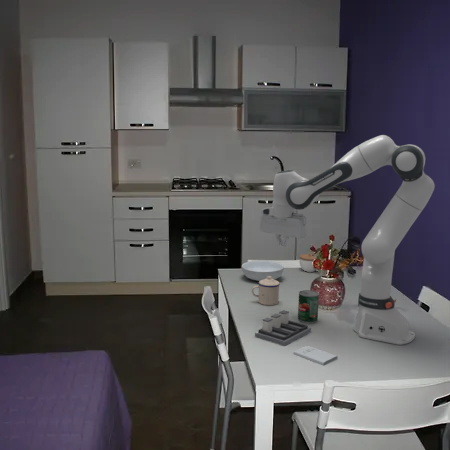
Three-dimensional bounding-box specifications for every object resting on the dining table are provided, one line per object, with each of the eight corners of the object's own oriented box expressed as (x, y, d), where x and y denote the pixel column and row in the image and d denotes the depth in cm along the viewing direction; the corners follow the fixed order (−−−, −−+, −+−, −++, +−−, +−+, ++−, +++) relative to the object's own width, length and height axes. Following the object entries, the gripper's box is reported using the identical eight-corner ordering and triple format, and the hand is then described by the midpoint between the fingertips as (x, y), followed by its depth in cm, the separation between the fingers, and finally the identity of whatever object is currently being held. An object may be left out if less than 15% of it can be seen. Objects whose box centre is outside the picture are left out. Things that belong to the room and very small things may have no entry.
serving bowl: (237, 274, 292) (237, 261, 291) (277, 272, 295) (277, 260, 294) (246, 285, 272) (246, 271, 270) (288, 284, 275) (289, 270, 274)
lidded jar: (301, 273, 295) (302, 255, 294) (296, 268, 306) (297, 251, 304) (321, 273, 296) (322, 255, 294) (316, 268, 307) (317, 251, 305)
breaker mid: (280, 327, 214) (281, 315, 213) (275, 329, 212) (276, 317, 211) (275, 325, 215) (275, 313, 214) (270, 327, 213) (271, 315, 212)
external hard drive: (323, 367, 186) (293, 355, 194) (337, 359, 192) (307, 348, 200) (323, 362, 185) (293, 350, 194) (337, 355, 191) (307, 344, 200)
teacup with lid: (277, 299, 252) (278, 273, 250) (279, 306, 243) (280, 279, 241) (250, 298, 252) (251, 273, 250) (251, 305, 243) (252, 279, 241)
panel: (310, 331, 214) (311, 325, 214) (284, 346, 201) (284, 339, 200) (281, 323, 222) (282, 317, 222) (254, 336, 209) (255, 330, 208)
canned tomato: (320, 318, 229) (322, 292, 227) (312, 324, 222) (313, 297, 220) (302, 314, 233) (304, 288, 231) (294, 320, 227) (295, 293, 225)
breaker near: (288, 323, 218) (288, 311, 217) (284, 325, 216) (284, 313, 215) (283, 321, 220) (283, 310, 219) (278, 324, 217) (279, 312, 216)
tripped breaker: (272, 331, 210) (272, 318, 209) (267, 333, 207) (267, 321, 206) (266, 329, 211) (267, 317, 210) (262, 331, 209) (262, 319, 208)
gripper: (310, 213, 220) (308, 248, 222) (266, 207, 232) (265, 240, 235) (301, 215, 215) (300, 251, 217) (257, 209, 227) (256, 243, 230)
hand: (281, 245), depth 226 cm, fingers closed
